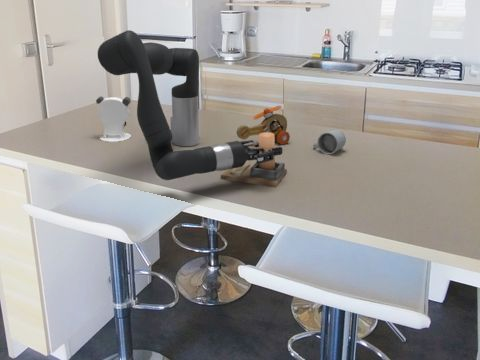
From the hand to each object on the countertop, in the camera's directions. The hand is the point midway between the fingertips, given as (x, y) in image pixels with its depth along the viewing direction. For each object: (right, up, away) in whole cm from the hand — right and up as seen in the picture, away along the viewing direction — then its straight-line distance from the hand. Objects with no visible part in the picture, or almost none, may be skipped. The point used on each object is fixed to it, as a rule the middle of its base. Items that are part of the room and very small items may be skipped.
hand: (275, 147), depth 144 cm
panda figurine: (-57, +6, +37) cm, 68 cm away
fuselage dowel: (-2, -8, +2) cm, 8 cm away
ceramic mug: (+20, 0, +26) cm, 33 cm away
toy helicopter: (-2, +3, +32) cm, 32 cm away
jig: (-6, -8, +3) cm, 11 cm away
